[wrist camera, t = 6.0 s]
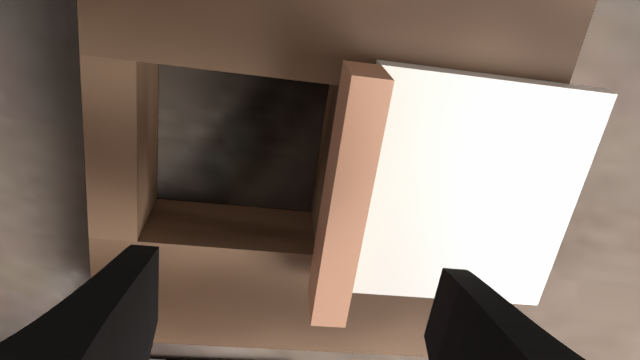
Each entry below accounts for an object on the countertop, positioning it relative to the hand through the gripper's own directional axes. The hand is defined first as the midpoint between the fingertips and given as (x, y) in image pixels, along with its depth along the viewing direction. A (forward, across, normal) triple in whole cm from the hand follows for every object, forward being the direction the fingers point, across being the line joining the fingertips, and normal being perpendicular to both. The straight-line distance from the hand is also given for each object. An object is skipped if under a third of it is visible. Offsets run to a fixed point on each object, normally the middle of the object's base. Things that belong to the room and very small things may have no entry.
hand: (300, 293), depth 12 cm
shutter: (+7, -6, 0) cm, 9 cm away
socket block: (+10, -1, 0) cm, 10 cm away
